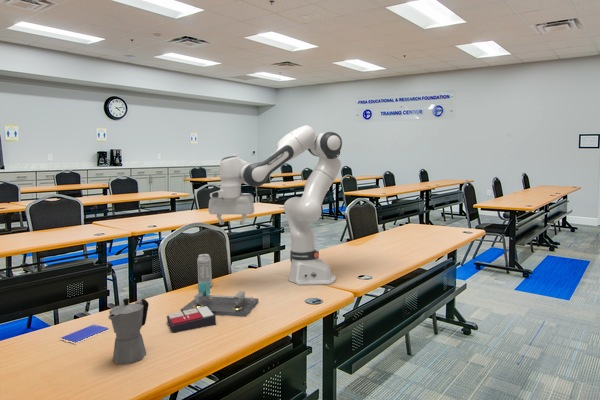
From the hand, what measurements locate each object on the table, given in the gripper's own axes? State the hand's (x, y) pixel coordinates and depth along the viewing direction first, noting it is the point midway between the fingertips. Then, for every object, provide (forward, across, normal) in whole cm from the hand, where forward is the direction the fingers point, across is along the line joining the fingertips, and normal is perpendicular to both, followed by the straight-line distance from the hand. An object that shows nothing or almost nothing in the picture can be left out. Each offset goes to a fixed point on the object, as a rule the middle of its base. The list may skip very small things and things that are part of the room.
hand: (232, 224), depth 190 cm
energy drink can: (+29, +14, 0) cm, 32 cm away
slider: (+27, +5, +23) cm, 36 cm away
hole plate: (+29, -3, +24) cm, 38 cm away
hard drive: (+30, +33, +56) cm, 71 cm away
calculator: (+30, +1, +41) cm, 50 cm away
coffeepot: (+29, +8, +67) cm, 74 cm away
